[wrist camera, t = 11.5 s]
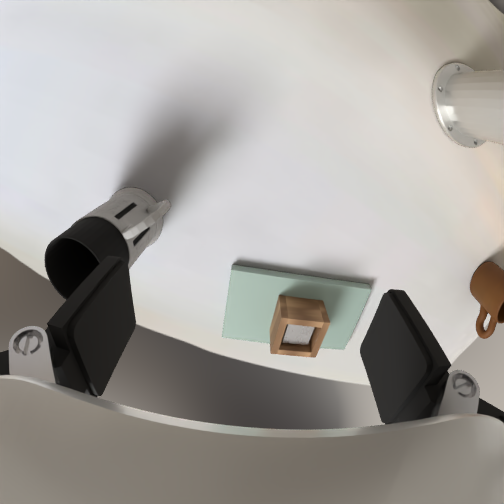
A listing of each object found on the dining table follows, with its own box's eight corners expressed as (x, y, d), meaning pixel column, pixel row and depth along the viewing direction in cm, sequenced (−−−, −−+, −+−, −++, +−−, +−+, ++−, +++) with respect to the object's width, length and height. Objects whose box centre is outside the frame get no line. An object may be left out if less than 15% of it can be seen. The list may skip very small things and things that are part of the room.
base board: (368, 284, 39) (371, 289, 38) (342, 343, 44) (344, 349, 43) (232, 264, 38) (231, 269, 37) (222, 330, 43) (221, 337, 42)
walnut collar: (323, 300, 39) (330, 323, 34) (310, 334, 41) (315, 357, 37) (278, 294, 38) (281, 317, 34) (269, 329, 41) (270, 353, 36)
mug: (471, 315, 43) (494, 345, 34) (450, 311, 42) (475, 343, 33) (500, 264, 37) (528, 289, 29) (481, 255, 37) (512, 282, 28)
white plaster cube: (310, 307, 39) (315, 325, 35) (304, 326, 41) (307, 344, 37) (286, 304, 39) (288, 322, 35) (280, 323, 40) (282, 342, 37)
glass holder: (95, 208, 35) (28, 255, 21) (174, 152, 32) (118, 174, 18) (128, 258, 38) (77, 323, 24) (210, 212, 35) (181, 271, 21)
